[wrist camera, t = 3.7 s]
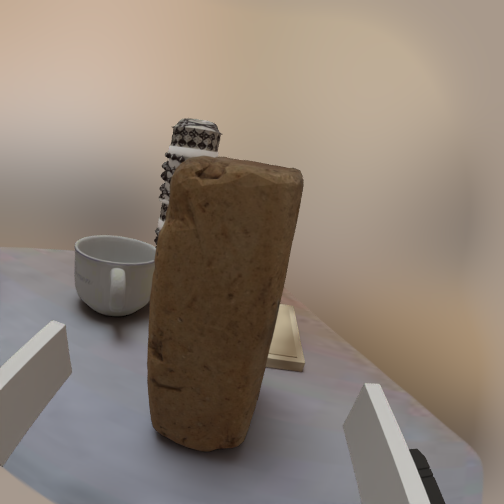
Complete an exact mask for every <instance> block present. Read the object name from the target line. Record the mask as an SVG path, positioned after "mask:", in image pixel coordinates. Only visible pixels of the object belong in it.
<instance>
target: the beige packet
mask: <svg viewBox="0 0 504 504" xmlns="http://www.w3.org/2000/svg"><path fill="white" fill-rule="evenodd" d="M304 364H305V361H304V356H303V351H302V346H301V341H300V336H299V331H298V326H297V322H296V317H295V312H294V307H293V306H289V305H283V304H280V306H279V311H278V316H277V320H276V325H275V330H274V334H273V338H272V342H271V346H270V350H269V354H268V358H267V363H266V367H270V368H277V369H284V370H292V371H300V372H302V370H303V367H304Z"/></svg>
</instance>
